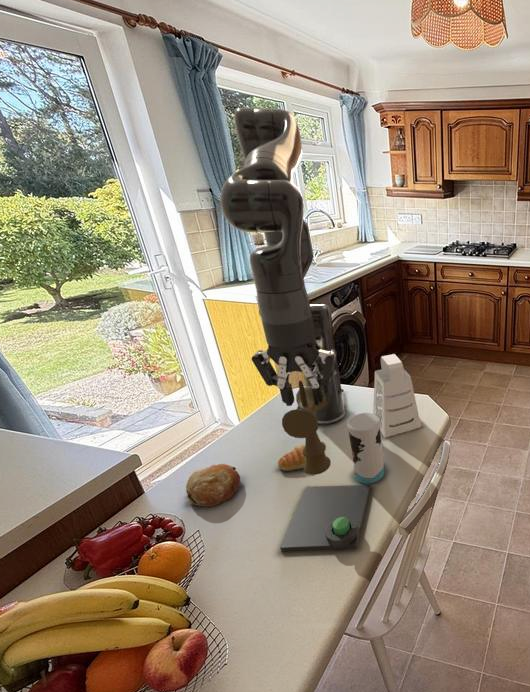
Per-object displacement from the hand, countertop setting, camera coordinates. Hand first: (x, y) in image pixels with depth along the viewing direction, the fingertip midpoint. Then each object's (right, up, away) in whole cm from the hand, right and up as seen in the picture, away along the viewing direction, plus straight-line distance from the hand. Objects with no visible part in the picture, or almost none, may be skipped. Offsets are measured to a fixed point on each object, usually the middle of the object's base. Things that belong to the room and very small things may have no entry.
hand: (304, 402), depth 74 cm
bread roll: (-27, -21, +17) cm, 38 cm away
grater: (+8, -9, +42) cm, 43 cm away
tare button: (+5, -25, +5) cm, 26 cm away
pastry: (-12, -17, +26) cm, 33 cm away
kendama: (0, -14, +7) cm, 15 cm away
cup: (+6, -19, +23) cm, 30 cm away
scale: (+1, -25, +11) cm, 27 cm away
